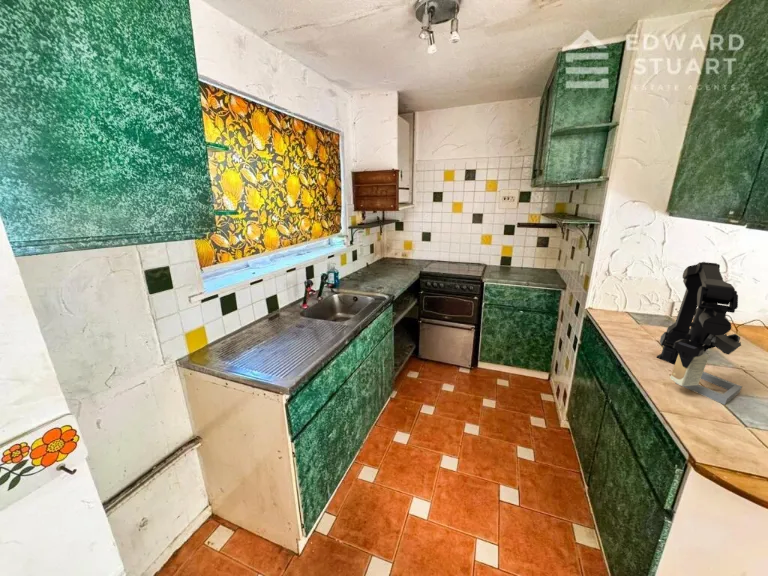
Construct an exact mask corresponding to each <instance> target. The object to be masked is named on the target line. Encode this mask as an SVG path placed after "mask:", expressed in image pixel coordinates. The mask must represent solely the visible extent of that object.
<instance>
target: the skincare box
mask: <svg viewBox="0 0 768 576" xmlns="http://www.w3.org/2000/svg"><path fill="white" fill-rule="evenodd" d="M710 356H711V354H710V353H708V352H707V351H706V352H703V355H701V356H699V357H695V358H694V359H693V361H692V362H691V364H690V365H689V366H688V368H685V367H683V366H682V362H681V359H680V356H679V354H678V357H677V360H676V363H675V364H673V369H672V372H671V374H670V377H669V379H670V380H672V381H673V382H676V383H678V384H679V386H681V387H683V386H691V385H698V384H699V383H700V381H701V380H702V379H701V376H702V374H703V371H704V372H705V368H706V365H707V364H708V361H709V358H710ZM676 383H675V384H676ZM678 384H677V385H678ZM699 385H700V384H699Z"/></svg>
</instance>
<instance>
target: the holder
mask: <svg viewBox="0 0 768 576" xmlns="http://www.w3.org/2000/svg"><path fill="white" fill-rule="evenodd" d="M700 380H703V381H706V382H708V383H709V384H713V385H715V386H718V387H720V388H723V389H726V390H727V391H725V392H724V393H720V392H718V391H715V390H713V389H711V388H708V387H705V386H703V385H702V384H698V385H691V386H682V387H683V388H685V389H688V390H690V391H692V392H695V393H697V394H698V395H702V396H703V397H706V398H708V399H711V400H712V401H716V402H718V403H720V404H722V405H726V404H727V403H729V402H730V401H731V400H732V399H733V398H734V397H736V396H737V395H738V394H740V392H741V391H742V388H743V386H742V385H740V384H737V383H734V382H732V381H729V380H728V379H727V380H726V379H723V378H722V377H718V376H716V375H713V374H712V373H708V372H706V371H705V370H704V371H703V374H702V376H701V379H700ZM674 382H675V381H674ZM675 384H676V385H679V384H678V383H676V382H675ZM679 386H680V385H679Z"/></svg>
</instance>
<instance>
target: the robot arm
mask: <svg viewBox="0 0 768 576" xmlns="http://www.w3.org/2000/svg"><path fill="white" fill-rule="evenodd" d="M720 267H721V265H720V264H719V263H716V262H706V261H705V262H704V261H702V262H697V264H693V265H688V266H686V268H685V269H684V270H683V272H682V279H683V281H682V283H683V284H684V287H685V291H684V295H683V297H682V301H681V303H680V304H681V305H680V307H679V310H678V314H677V316H676V318H675V322H674V323H672V324H671V325H668V327H667V329H666V331H664V332H663V333H662V334H661V336H660V340H659V343H660V346H662V350H661V353H660V354H657V355H656V358H658V359H660V360H663V361H665V362H667V363H669V364H672V365H675V363H676V360H677V357H678V354H679V356H680V359H681V362H682V366H683V367H685V368H688V366H689V365H690V364H691V362H692V361H693V359H694V358H695V357H699V356H701V355H703V352H706V353H707V351H708V350H709V349H713V348H717V349H718V350H720V351H721V352H722V353H723V354H725V355H730V354H732V353H734V352H735V351H736V350H737V349H739V348H740V347H741V346H742V343H741V342H740V340H741V336H740V335H738V334H736V333H733V334H729V335H728V333H729V332H730V331H731V330H732V323H731V321H729V319H728V318H727V317H726V315H727V313H730V314H731V313H732V314H734V313H735V312H736V310H737V309H738V307H739V304H738V303H739V295H738V291H737V290H736V289H735V287H734V286H733V285H732V284H731V283H728V282H726V281H724V278H723V276H722V273H721V271H720V270H721V269H720Z"/></svg>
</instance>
